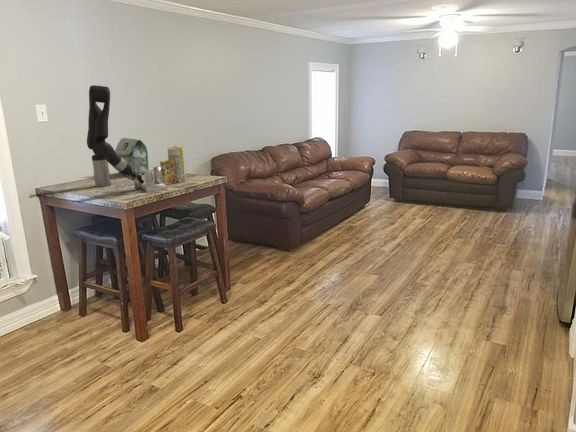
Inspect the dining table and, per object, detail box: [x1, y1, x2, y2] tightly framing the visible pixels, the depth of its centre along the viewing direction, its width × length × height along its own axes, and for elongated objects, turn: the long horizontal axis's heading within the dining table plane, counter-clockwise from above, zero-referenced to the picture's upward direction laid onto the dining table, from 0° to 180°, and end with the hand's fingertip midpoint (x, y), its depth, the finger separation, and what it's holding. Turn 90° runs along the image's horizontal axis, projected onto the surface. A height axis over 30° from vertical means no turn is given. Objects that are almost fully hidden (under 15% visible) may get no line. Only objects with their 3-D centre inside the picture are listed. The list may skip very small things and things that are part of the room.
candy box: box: [159, 159, 178, 186], centre depth 293 cm, size 9×4×15 cm, turn 146°
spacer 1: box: [133, 173, 143, 191], centre depth 278 cm, size 4×4×10 cm
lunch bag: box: [114, 137, 150, 175], centre depth 335 cm, size 23×16×27 cm
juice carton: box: [167, 145, 186, 183], centre depth 300 cm, size 9×8×24 cm
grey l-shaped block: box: [142, 168, 168, 193], centre depth 278 cm, size 12×15×11 cm
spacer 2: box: [152, 166, 162, 184], centre depth 278 cm, size 4×4×10 cm
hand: (140, 182), depth 280 cm, fingers closed on spacer 1, 4 cm apart
